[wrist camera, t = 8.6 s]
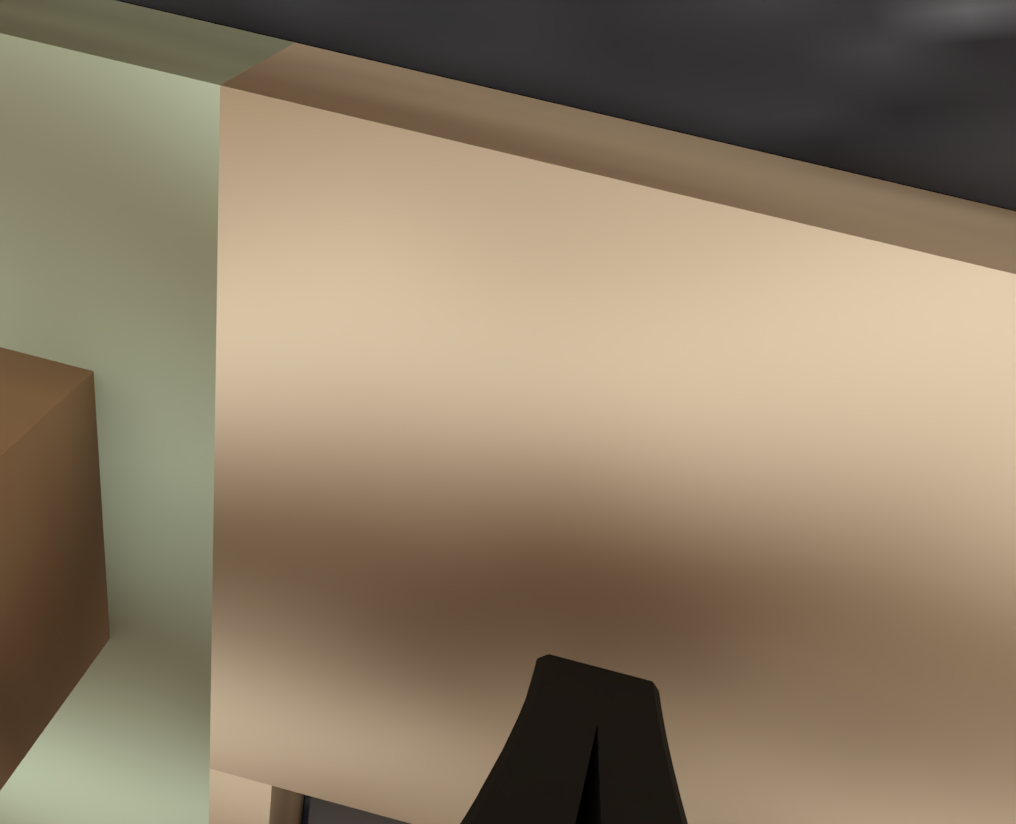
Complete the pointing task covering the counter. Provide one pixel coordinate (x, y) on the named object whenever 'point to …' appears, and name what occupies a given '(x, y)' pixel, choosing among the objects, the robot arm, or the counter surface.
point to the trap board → (500, 439)
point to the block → (47, 545)
